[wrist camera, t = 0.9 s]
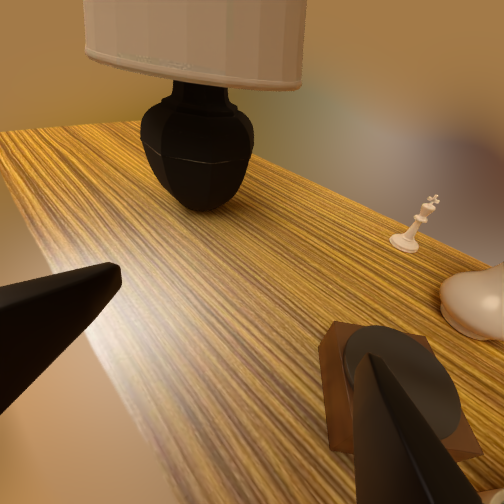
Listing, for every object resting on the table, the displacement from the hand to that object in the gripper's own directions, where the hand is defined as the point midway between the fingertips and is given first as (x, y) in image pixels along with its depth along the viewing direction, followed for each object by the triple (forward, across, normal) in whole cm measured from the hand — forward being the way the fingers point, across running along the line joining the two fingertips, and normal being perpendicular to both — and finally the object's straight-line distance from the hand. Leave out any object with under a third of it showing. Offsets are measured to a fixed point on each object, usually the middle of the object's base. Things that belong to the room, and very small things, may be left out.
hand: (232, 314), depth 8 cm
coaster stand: (+10, -12, +15) cm, 22 cm away
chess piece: (+40, -20, +10) cm, 46 cm away
